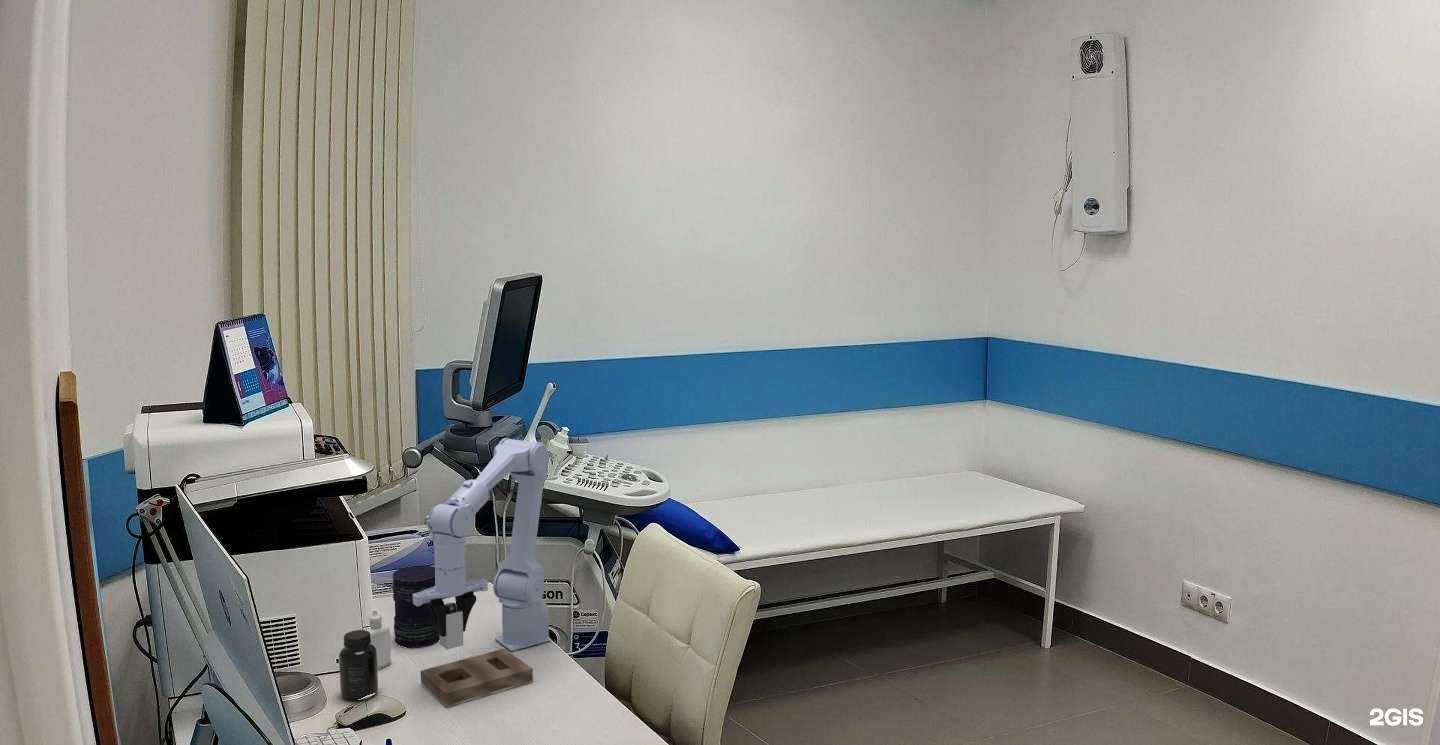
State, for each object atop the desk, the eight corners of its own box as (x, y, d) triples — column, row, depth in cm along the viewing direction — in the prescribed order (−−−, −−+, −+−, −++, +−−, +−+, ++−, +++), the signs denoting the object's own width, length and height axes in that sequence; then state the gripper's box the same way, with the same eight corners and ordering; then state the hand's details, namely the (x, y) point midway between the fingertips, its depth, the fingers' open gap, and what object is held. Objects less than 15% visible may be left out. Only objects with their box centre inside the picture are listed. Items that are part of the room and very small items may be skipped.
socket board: (504, 660, 213) (504, 648, 213) (532, 681, 204) (532, 668, 204) (421, 684, 202) (420, 670, 202) (446, 707, 193) (446, 693, 193)
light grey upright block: (456, 639, 204) (455, 599, 203) (463, 645, 202) (462, 605, 200) (439, 643, 202) (438, 603, 201) (446, 649, 200) (445, 609, 198)
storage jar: (429, 650, 218) (427, 582, 216) (385, 646, 219) (383, 579, 217) (449, 632, 227) (447, 567, 225) (407, 628, 229) (405, 563, 227)
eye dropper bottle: (392, 668, 209) (390, 611, 207) (363, 673, 207) (361, 615, 205) (389, 659, 213) (387, 604, 211) (361, 664, 211) (359, 608, 209)
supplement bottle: (385, 689, 200) (383, 630, 198) (362, 704, 194) (360, 644, 192) (356, 683, 202) (354, 625, 200) (332, 698, 196) (330, 638, 194)
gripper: (476, 553, 207) (477, 617, 209) (405, 567, 198) (407, 634, 200) (492, 562, 201) (493, 629, 203) (420, 577, 193) (422, 646, 195)
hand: (451, 632), depth 201 cm, fingers closed on light grey upright block, 3 cm apart
